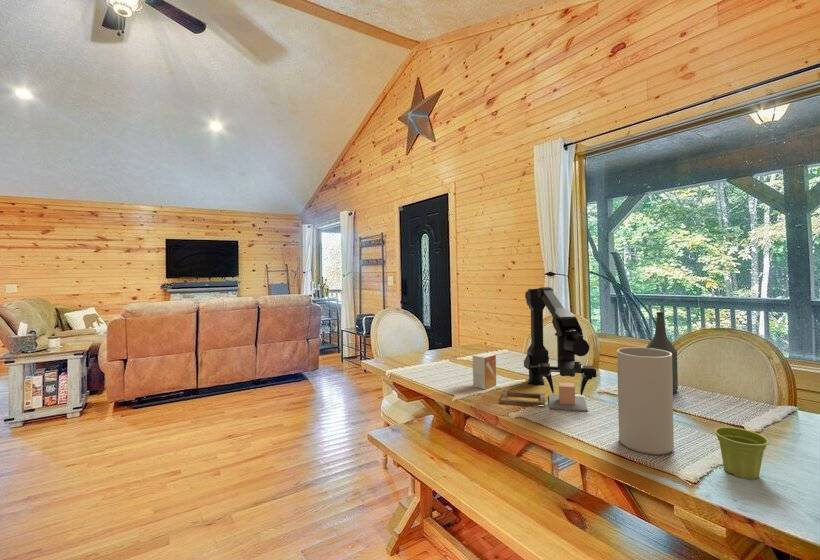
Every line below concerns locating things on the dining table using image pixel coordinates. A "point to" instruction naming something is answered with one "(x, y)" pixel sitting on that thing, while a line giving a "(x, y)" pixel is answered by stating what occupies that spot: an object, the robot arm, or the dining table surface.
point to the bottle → (665, 346)
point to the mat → (579, 404)
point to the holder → (523, 402)
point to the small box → (484, 370)
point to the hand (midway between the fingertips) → (566, 394)
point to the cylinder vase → (645, 400)
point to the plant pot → (741, 451)
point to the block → (567, 393)
